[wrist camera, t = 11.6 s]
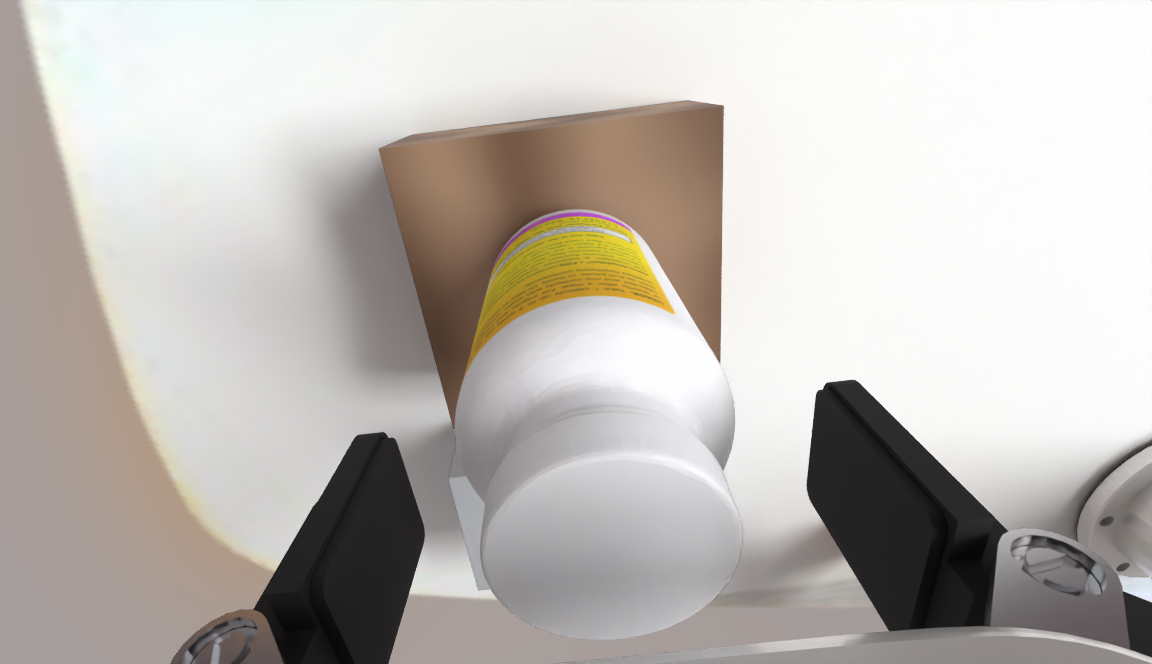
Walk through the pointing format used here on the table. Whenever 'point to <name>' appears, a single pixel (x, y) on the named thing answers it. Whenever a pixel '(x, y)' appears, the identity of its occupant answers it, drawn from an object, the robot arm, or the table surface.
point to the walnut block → (557, 206)
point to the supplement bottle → (596, 436)
